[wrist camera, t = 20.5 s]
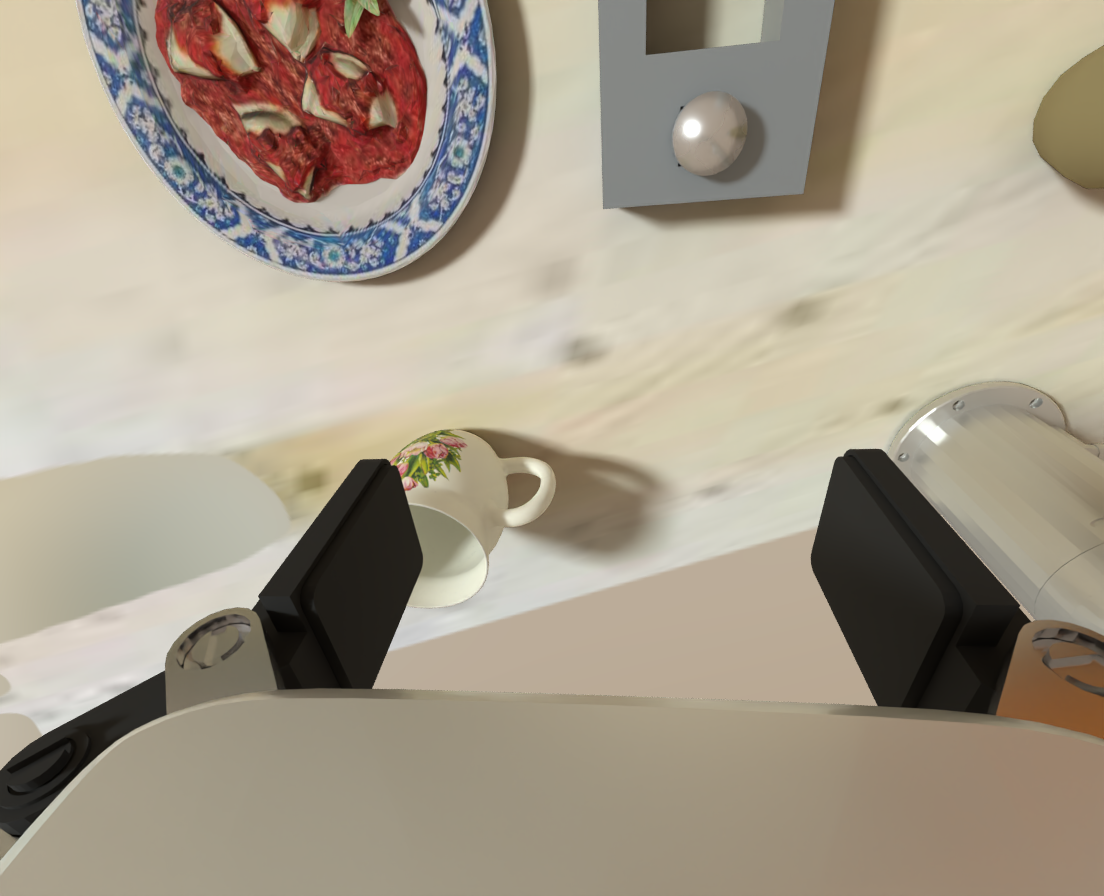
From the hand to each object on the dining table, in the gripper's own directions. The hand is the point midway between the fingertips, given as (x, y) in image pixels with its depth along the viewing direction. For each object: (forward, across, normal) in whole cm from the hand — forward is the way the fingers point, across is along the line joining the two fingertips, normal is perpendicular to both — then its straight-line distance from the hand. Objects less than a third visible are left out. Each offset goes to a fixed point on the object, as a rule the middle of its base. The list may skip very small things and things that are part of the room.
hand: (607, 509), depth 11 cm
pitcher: (+31, +13, +18) cm, 38 cm away
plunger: (+29, -6, -7) cm, 31 cm away
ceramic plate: (+31, +19, -12) cm, 38 cm away
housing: (+30, -6, -11) cm, 33 cm away
